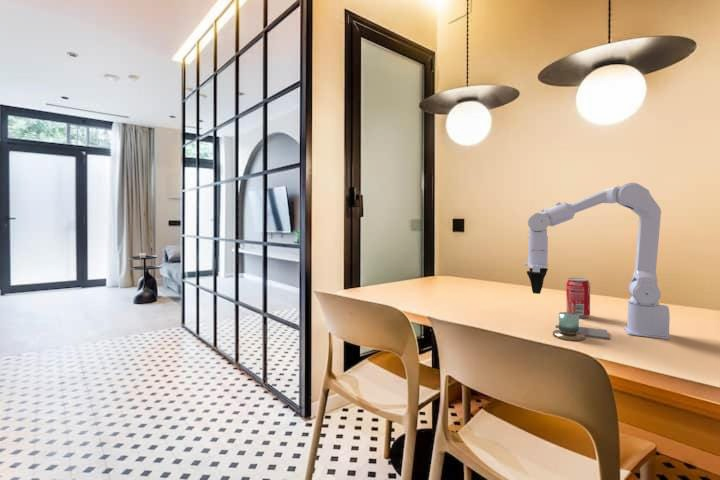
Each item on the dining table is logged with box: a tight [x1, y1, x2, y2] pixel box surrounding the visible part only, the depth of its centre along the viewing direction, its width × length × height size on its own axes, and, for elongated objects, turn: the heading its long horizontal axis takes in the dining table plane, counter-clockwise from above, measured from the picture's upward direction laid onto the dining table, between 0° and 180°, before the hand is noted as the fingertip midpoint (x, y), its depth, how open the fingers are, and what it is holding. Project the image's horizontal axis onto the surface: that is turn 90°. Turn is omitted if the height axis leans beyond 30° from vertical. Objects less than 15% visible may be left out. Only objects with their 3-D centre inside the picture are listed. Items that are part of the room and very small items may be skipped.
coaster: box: [578, 326, 611, 340], centre depth 108 cm, size 8×8×1 cm
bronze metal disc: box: [552, 329, 586, 342], centre depth 106 cm, size 8×8×2 cm
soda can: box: [565, 277, 591, 319], centre depth 127 cm, size 7×7×13 cm
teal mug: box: [555, 311, 582, 332], centre depth 105 cm, size 7×5×4 cm
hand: (537, 291), depth 121 cm, fingers open, 7 cm apart
